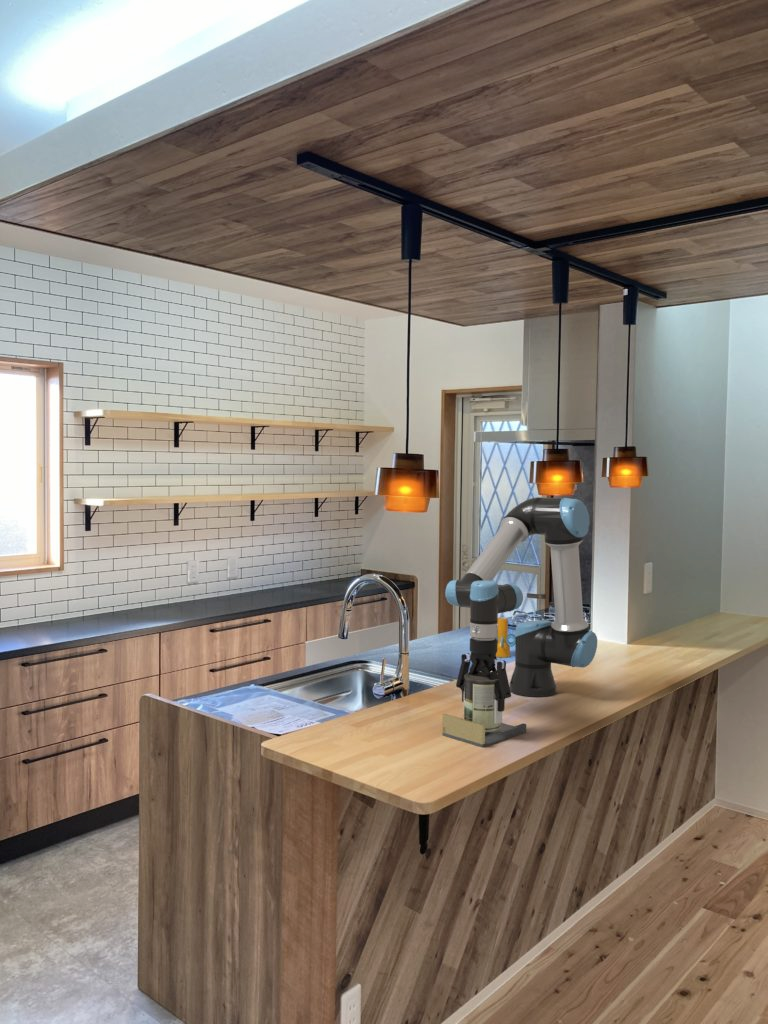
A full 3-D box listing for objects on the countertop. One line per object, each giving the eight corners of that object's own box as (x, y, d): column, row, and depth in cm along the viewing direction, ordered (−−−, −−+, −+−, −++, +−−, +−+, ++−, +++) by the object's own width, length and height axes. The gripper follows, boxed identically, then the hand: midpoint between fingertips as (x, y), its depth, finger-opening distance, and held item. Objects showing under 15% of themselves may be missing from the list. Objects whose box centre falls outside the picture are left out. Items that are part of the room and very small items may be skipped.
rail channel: (486, 721, 246) (486, 701, 246) (526, 732, 236) (526, 711, 236) (442, 735, 233) (442, 714, 233) (482, 747, 223) (482, 725, 223)
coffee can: (456, 727, 233) (456, 676, 233) (477, 719, 241) (477, 669, 241) (488, 734, 227) (488, 682, 226) (508, 726, 235) (509, 675, 234)
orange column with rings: (515, 660, 328) (516, 621, 327) (488, 659, 329) (488, 620, 329) (515, 653, 340) (516, 616, 339) (489, 652, 341) (489, 615, 341)
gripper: (443, 633, 238) (442, 712, 239) (508, 645, 222) (507, 730, 223) (461, 630, 244) (460, 707, 245) (525, 642, 227) (524, 724, 228)
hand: (482, 718), depth 234 cm, fingers closed on coffee can, 10 cm apart
